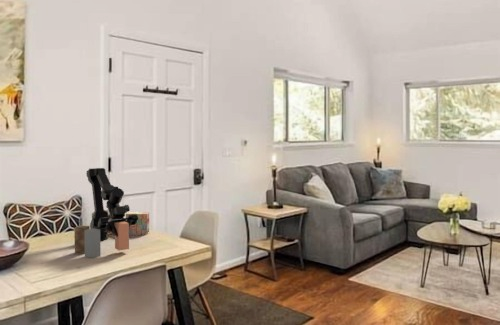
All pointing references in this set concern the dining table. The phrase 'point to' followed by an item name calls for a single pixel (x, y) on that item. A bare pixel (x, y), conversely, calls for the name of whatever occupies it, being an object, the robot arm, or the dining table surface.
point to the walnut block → (80, 239)
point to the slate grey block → (92, 243)
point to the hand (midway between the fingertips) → (123, 235)
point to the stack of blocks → (138, 224)
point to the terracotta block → (122, 236)
